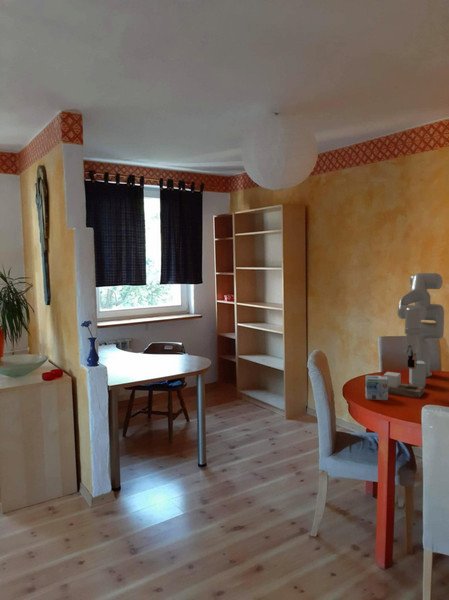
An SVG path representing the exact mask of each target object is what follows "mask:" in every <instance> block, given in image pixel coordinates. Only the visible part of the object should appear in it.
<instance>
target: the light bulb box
mask: <svg viewBox="0 0 449 600" xmlns="http://www.w3.org/2000/svg"><path fill="white" fill-rule="evenodd" d="M364 386H365V388H364V389H365V391H364V394H365V395H364V396H365V399H366V400H374V401H375V400H378V401H379V400H380V401H389V393H388V378H387V376H384V375H365V385H364Z"/></svg>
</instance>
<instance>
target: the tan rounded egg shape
mask: <svg viewBox="0 0 449 600" xmlns="http://www.w3.org/2000/svg"><path fill="white" fill-rule="evenodd" d="M412 356H413V355H412ZM414 360H415V361H414V368H412V367H408V366H407V368H408V370H409V369H416V354H414Z"/></svg>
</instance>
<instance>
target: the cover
mask: <svg viewBox="0 0 449 600" xmlns="http://www.w3.org/2000/svg"><path fill="white" fill-rule="evenodd" d="M383 376H387V378H388V386H389V387H396V388H397V387H398V386H399V385H400V384H401V381H402V380H401V378H402V377H401V376H402V374H401V372H393V371H386V372H385V373H384V374H383Z"/></svg>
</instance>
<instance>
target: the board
mask: <svg viewBox="0 0 449 600" xmlns="http://www.w3.org/2000/svg"><path fill="white" fill-rule="evenodd" d="M425 387H426V385H425V386H418V385H411V384H410V383H403V382H402V383H401V384H400V385H399V386H398V387H397V388H396V387H389V386H388V395H395V396H396V395H397V396H402V397H408V398H409V397H410V398H416V399H421V397H422V395H423V394H424V393H425Z"/></svg>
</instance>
